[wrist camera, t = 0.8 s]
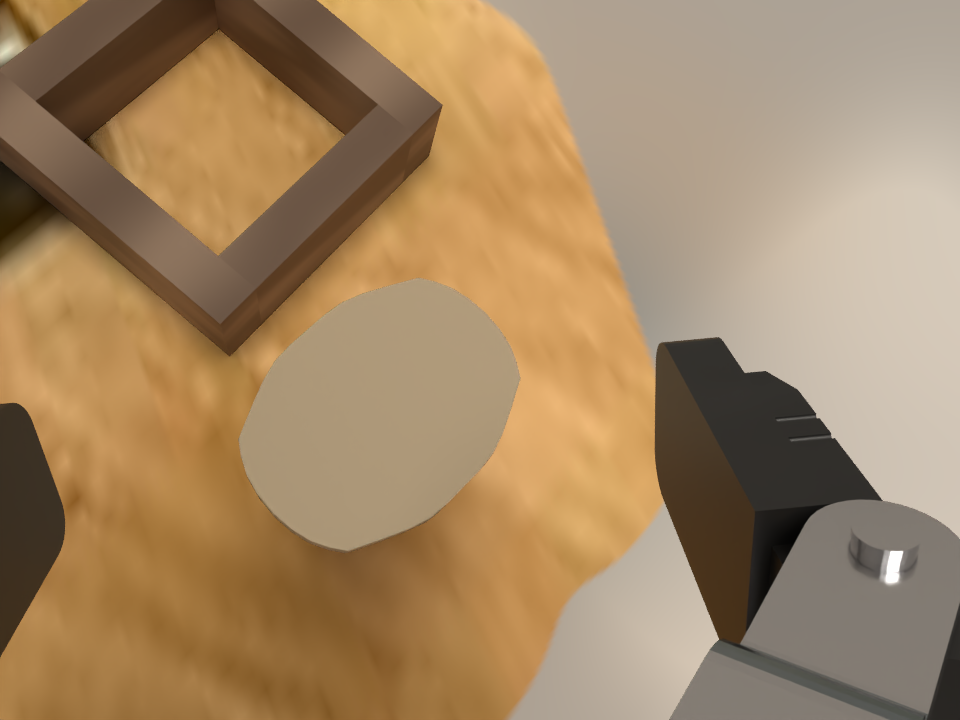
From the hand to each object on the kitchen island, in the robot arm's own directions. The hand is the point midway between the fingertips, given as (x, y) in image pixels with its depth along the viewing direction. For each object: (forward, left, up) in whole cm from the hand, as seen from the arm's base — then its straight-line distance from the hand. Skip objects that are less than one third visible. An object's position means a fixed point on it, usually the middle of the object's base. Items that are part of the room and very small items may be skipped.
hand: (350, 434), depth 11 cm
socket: (-14, +9, -23) cm, 28 cm away
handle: (-1, +2, -23) cm, 23 cm away
